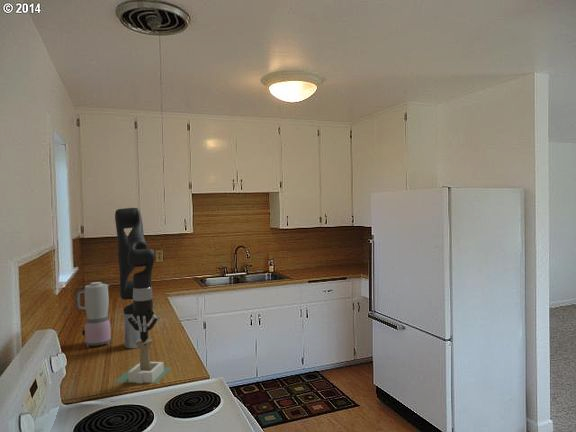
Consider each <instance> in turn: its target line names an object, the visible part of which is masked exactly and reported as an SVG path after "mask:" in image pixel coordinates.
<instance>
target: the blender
mask: <svg viewBox="0 0 576 432" xmlns="http://www.w3.org/2000/svg"><path fill="white" fill-rule="evenodd" d="M109 286H110V284H108V283H102V282H101V281H94V282H90V284H87V285H85V286H84V289H79V290H78V291H76V294H75V296H76V298H75V300H76V301H75V302H76V308H77V309H78V310H79V311H80V310H83V311H85V313H86V318H87V320H86V322H85V325H84V329H83V330H82V336H84V337H85V340H84V341H85V345H86V347H87V348H90V347H93V346H100V345H101V346H102V345H106V346H109V345H110V344H111V341H112V337H111V336H112V335H111V332H112V331H111V321H110V320H109V318H108V317H109V316H108V314H109V313H108V312H109V305H110V303H109V302H110V301H109V298H110V297H109ZM81 294H84V306H83V305H81Z"/></svg>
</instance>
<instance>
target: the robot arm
mask: <svg viewBox="0 0 576 432" xmlns="http://www.w3.org/2000/svg"><path fill="white" fill-rule="evenodd" d="M114 212H115V213H114V222H115V228H116V238H117V258H118V267H119V296H120V298H121V300H127V301H128V300H132V303H129V304H128V305H126V306H124V307H123V328H124V329H123V332H124V348H126V349H137V348H139V347H138V346H136V341H139V340H142V341H146V340H147V339H149V331H151V330H153V328H154V327H155V325H156V324H157V323H158V321H159V320H160V317H159V316H157V315H155V312H154V301H153V300H154V298H153V297H154V296H153V286H152V285H153V283H152V274H153V268H154V265H155V262H156V260H155V259H156V252H155V251H154V250H153V249H152V248H148V245H147V242H146V238H145V235H144V225H143V219H142V218H143V217H142V213H141V211H140V209H139V208H138V207H128V208H126V207H125V208H118V209H116V210H115V211H114ZM125 229H131V230H130V231H129V233H128V235H127V234H126V231H125ZM139 267H145V268H144V269H143V270H142V271H139V272H136V273H133V275H132V280H128V279H129V277H130V275H131V274H132V272H133V271H134V270H135V269H136V268H139ZM150 322H151V323H150Z"/></svg>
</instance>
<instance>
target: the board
mask: <svg viewBox="0 0 576 432" xmlns="http://www.w3.org/2000/svg"><path fill="white" fill-rule="evenodd" d="M134 367H135V366H132V367H131V368H130V369H128V370H127V371H126V372H125V373H123V374H122V375H120V376H119V377H118V378H117V379H115V381H114V382H113V383H130V384H131V383H132V384H133V383H134V384H137V383H136V382H129V380H128V372H129V371H130V370H131V369H133V368H134ZM172 369H173V367H172V366H169V367H167V366H164V372H163V373H162V374H161V375H160V376H159V377H158V378H157V379H156V380H155V381H154V382H153V383H152V384H158V383H159V382H160V380H162V379H163V378H164V377H165V376H166V375H167V374H168V373H169V372H170V371H171V370H172ZM142 384H151V383H150V382H143V383H142Z"/></svg>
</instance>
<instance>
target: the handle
mask: <svg viewBox="0 0 576 432" xmlns="http://www.w3.org/2000/svg"><path fill="white" fill-rule="evenodd" d="M153 342H154V341H153V339H152V338H148V339H147V340H146V341H142V340H139V341H136V346H138V348H140V349H139V352H140V353H139V355H140V356H139V363H140V370H141V371H150V362H151V356H150V346H151V345H153Z"/></svg>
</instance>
